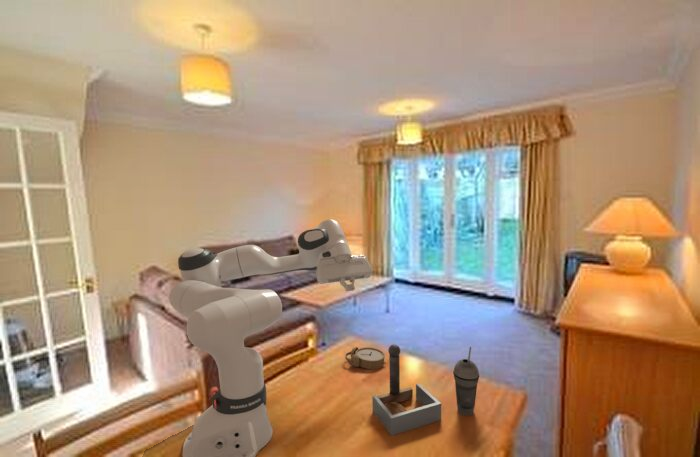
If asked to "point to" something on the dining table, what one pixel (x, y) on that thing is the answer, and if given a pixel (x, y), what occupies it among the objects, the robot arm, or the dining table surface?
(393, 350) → the ball-topped joystick
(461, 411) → the beverage cup
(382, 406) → the box
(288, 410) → the dining table surface
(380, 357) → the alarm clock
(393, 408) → the shard
